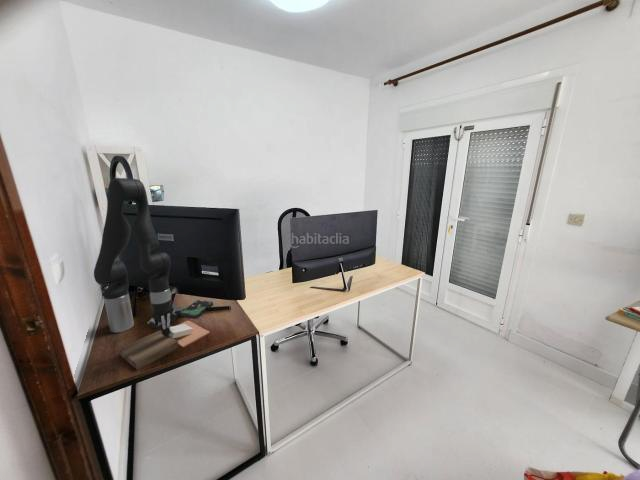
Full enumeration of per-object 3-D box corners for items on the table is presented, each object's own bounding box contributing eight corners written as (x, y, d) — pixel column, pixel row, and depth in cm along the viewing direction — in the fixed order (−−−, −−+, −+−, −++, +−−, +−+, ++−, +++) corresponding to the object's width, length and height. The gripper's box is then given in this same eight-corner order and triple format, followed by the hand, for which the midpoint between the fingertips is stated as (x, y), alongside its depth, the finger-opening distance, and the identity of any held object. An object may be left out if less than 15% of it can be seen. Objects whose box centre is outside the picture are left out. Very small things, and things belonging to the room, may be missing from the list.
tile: (164, 333, 115) (165, 328, 115) (183, 328, 123) (184, 323, 123) (173, 338, 112) (173, 333, 112) (192, 333, 119) (193, 328, 119)
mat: (161, 333, 120) (161, 332, 120) (188, 321, 130) (188, 320, 130) (182, 347, 110) (182, 346, 110) (209, 332, 121) (209, 331, 121)
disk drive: (197, 304, 149) (180, 317, 135) (196, 300, 148) (179, 312, 134) (213, 305, 148) (198, 319, 133) (213, 301, 147) (197, 314, 133)
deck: (120, 355, 105) (119, 348, 104) (161, 335, 118) (160, 330, 118) (137, 370, 97) (136, 363, 97) (178, 347, 110) (178, 341, 110)
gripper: (172, 291, 116) (176, 325, 120) (139, 302, 105) (145, 339, 109) (181, 295, 112) (185, 330, 116) (148, 307, 101) (154, 345, 105)
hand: (166, 334), depth 112 cm, fingers closed
